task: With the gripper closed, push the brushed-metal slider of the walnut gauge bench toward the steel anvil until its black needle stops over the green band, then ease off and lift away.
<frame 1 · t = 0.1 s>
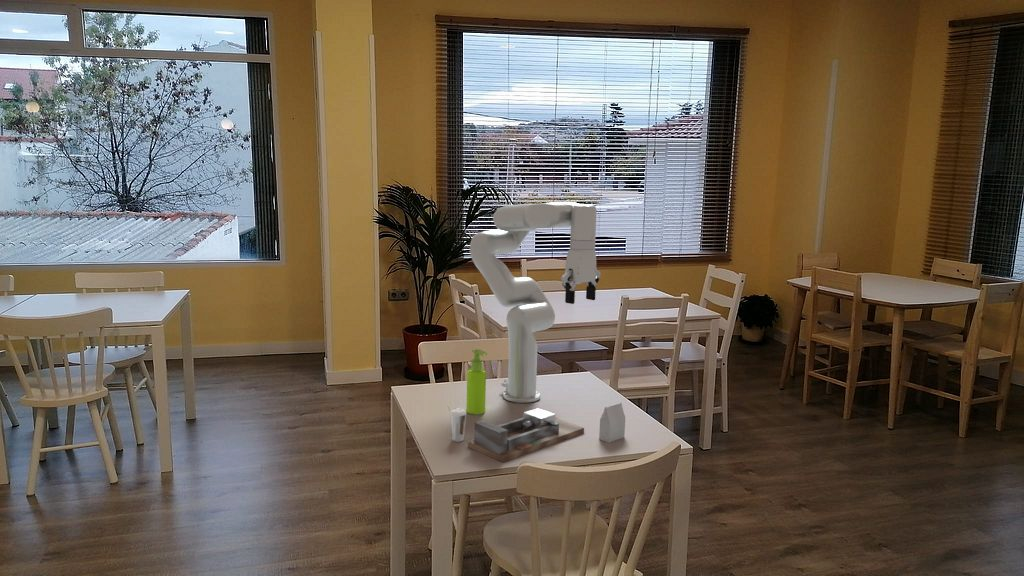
hand: (580, 301, 225), 37 cm above the table, tool pointing down, fingers open, 9 cm apart
slider: (539, 424, 211), point 4 cm above the table, slide at 0.0 cm
tea bag: (611, 438, 214), on the table
soap dispenser: (476, 412, 233), on the table
gauge bench: (524, 440, 210), on the table
milkshake: (456, 440, 209), on the table
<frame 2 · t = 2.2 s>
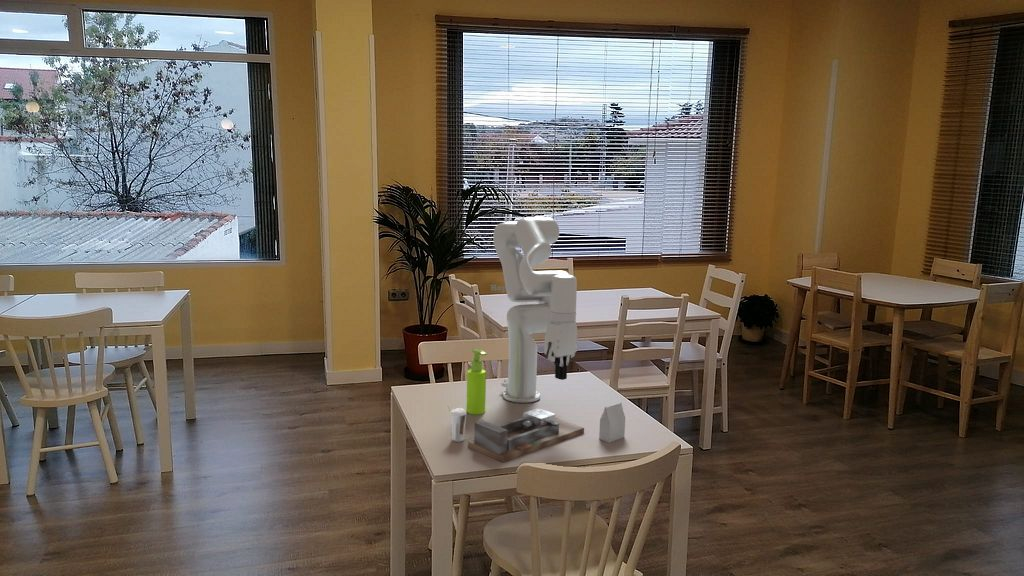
hand: (560, 378, 217), 16 cm above the table, tool pointing down, fingers closed
nothing on the table moved.
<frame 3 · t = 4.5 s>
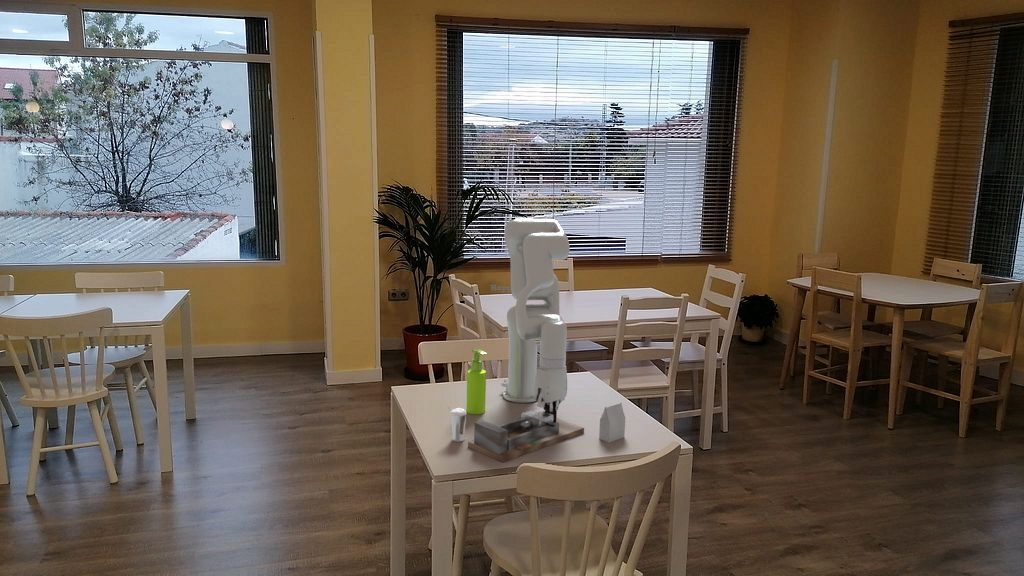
hand: (550, 422, 217), 3 cm above the table, tool pointing down, fingers closed
slider: (537, 424, 211), point 4 cm above the table, slide at 0.8 cm, touching gripper
everything else where it was.
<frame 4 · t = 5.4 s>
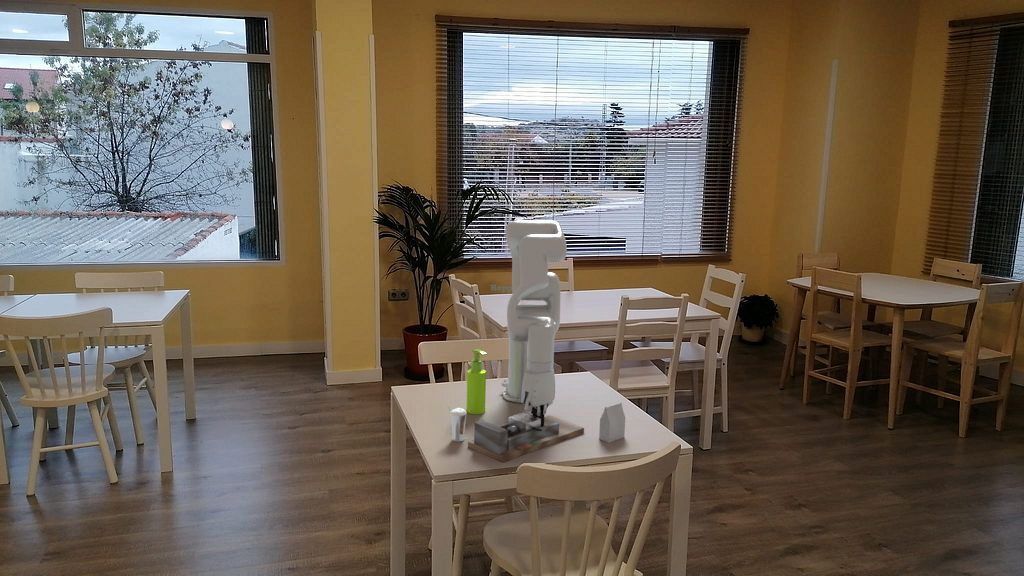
hand: (538, 427, 213), 3 cm above the table, tool pointing down, fingers closed
slider: (524, 429, 207), point 4 cm above the table, slide at 6.0 cm, touching gripper
everything else where it was.
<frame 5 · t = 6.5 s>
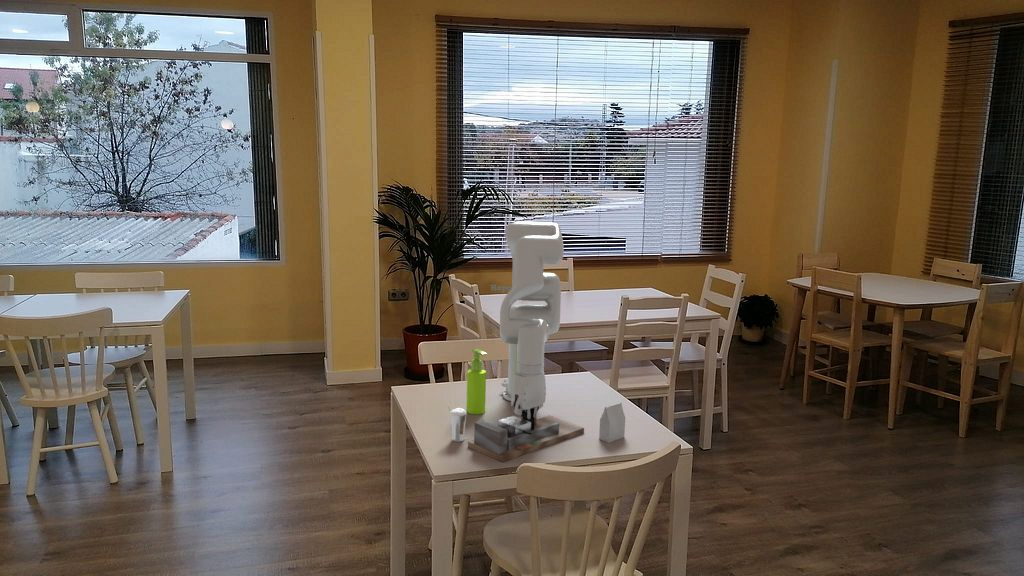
hand: (528, 430, 210), 3 cm above the table, tool pointing down, fingers closed
slider: (514, 432, 204), point 4 cm above the table, slide at 10.1 cm, touching gripper
everything else where it was.
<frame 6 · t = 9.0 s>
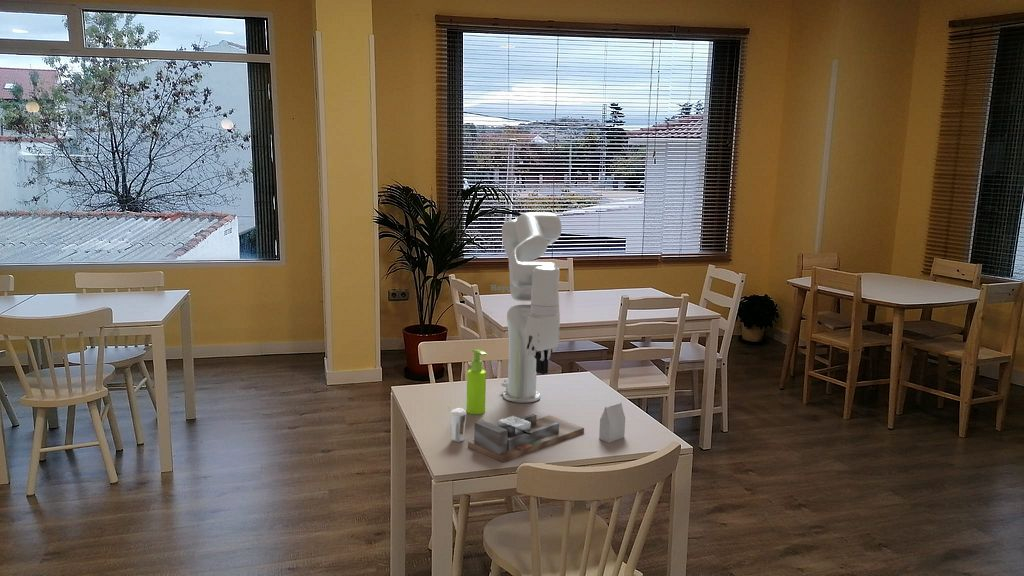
hand: (541, 372, 211), 19 cm above the table, tool pointing down, fingers closed
slider: (514, 432, 204), point 4 cm above the table, slide at 10.1 cm
everything else where it was.
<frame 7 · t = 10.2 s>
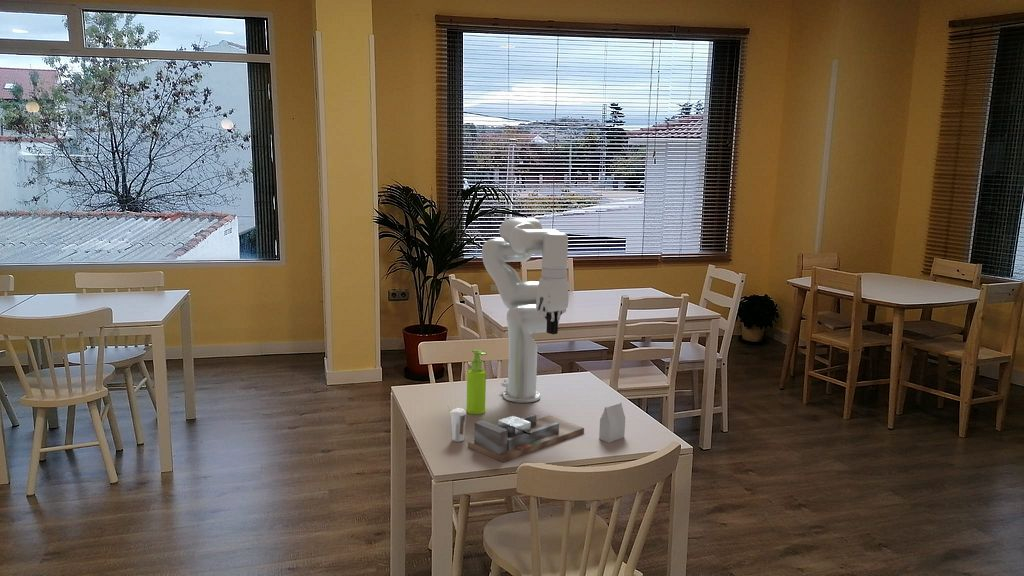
hand: (552, 333, 224), 27 cm above the table, tool pointing down, fingers closed
nothing on the table moved.
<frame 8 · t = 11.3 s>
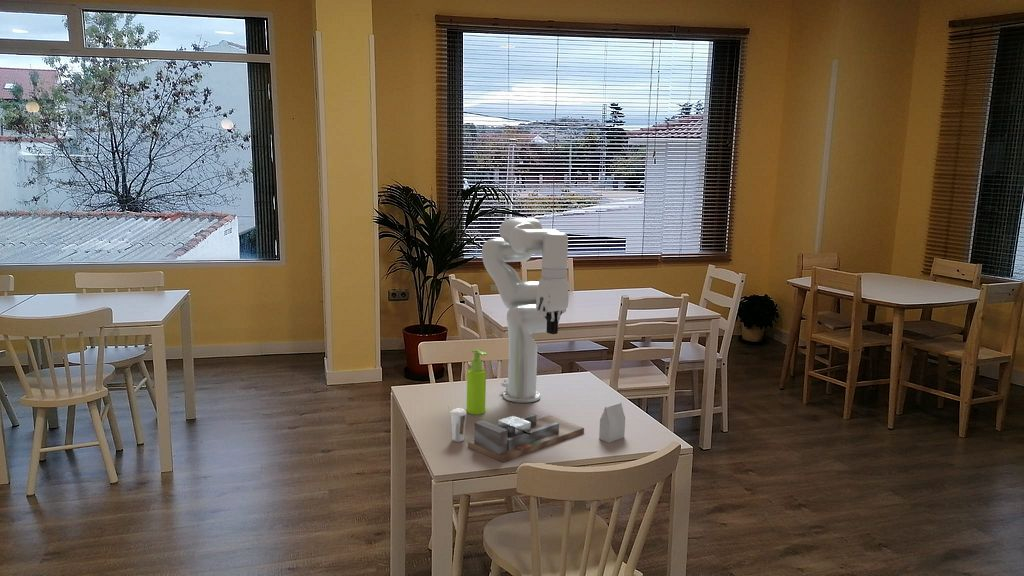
hand: (552, 333, 224), 27 cm above the table, tool pointing down, fingers closed
nothing on the table moved.
at the end: slider slide at 10.1 cm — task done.
